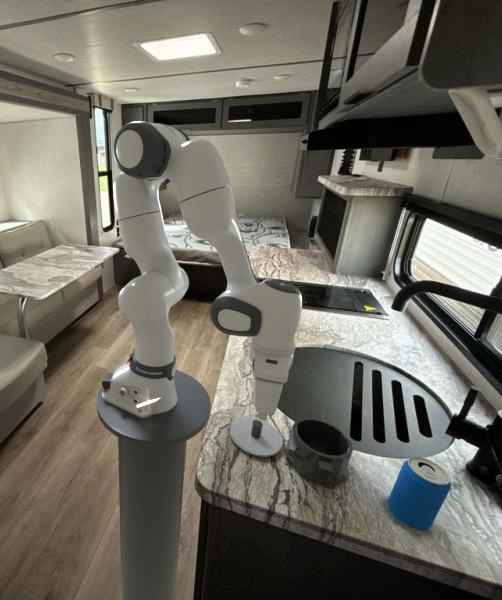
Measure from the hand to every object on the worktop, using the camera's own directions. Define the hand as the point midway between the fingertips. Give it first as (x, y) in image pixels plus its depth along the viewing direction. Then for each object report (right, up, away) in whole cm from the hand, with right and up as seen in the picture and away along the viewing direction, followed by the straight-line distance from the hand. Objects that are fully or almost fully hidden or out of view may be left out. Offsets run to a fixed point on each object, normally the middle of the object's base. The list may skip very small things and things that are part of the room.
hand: (263, 404), depth 72 cm
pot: (+11, -12, -3) cm, 16 cm away
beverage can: (+22, -17, -14) cm, 31 cm away
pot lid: (-1, -9, +3) cm, 10 cm away
